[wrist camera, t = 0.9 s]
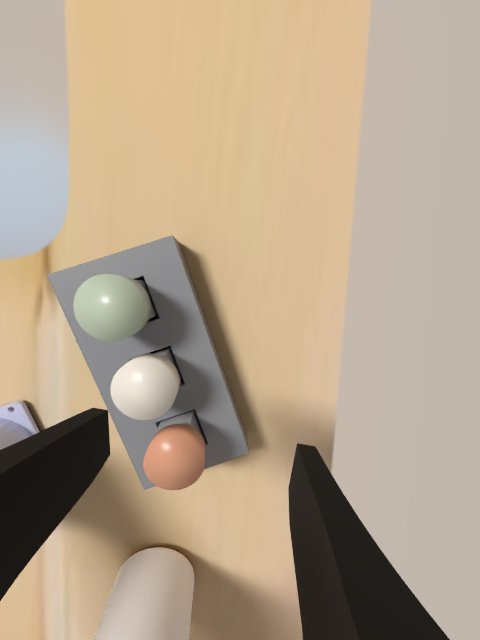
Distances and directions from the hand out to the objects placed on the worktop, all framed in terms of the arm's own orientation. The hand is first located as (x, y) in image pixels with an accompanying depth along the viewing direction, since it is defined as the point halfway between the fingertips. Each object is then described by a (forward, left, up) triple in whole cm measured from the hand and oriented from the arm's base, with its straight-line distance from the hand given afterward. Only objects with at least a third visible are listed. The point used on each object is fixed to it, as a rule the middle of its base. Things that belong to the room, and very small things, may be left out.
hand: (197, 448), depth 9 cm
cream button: (-5, 0, -12) cm, 13 cm away
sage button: (-5, +6, -12) cm, 14 cm away
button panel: (-5, 0, -14) cm, 14 cm away
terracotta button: (-5, -6, -12) cm, 14 cm away
